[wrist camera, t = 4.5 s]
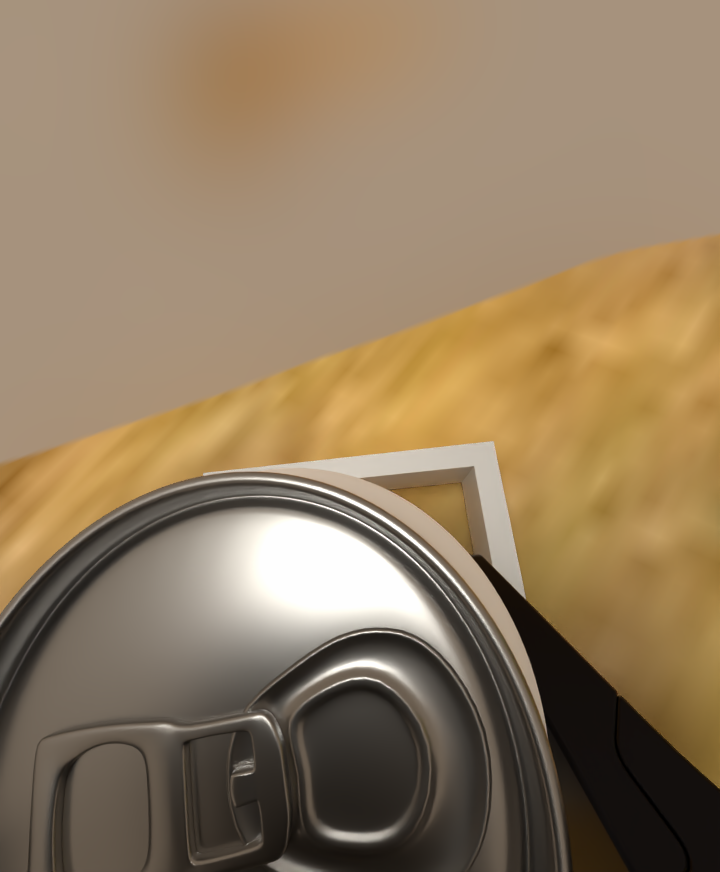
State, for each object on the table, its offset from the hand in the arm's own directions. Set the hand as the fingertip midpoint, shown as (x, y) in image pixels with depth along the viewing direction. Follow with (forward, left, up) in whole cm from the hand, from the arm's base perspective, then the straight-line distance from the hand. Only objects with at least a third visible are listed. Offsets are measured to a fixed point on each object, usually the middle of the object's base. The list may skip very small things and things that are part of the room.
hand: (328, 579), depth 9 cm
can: (-1, +1, -7) cm, 7 cm away
